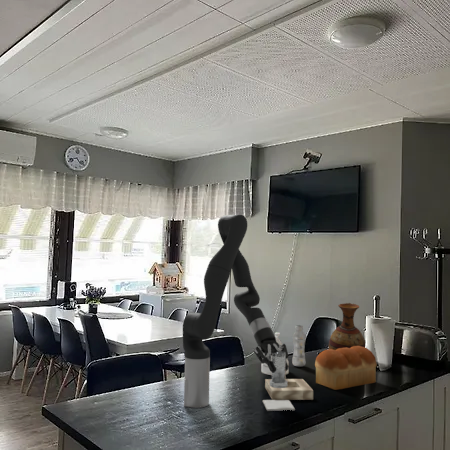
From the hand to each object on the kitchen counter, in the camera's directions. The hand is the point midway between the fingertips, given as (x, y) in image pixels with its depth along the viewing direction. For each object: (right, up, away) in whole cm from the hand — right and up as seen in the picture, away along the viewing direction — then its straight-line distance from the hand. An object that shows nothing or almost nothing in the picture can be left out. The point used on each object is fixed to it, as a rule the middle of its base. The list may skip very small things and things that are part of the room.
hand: (280, 370), depth 169 cm
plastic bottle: (+17, -17, +60) cm, 65 cm away
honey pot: (+3, -16, +49) cm, 52 cm away
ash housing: (+5, -14, +15) cm, 21 cm away
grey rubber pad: (-1, -13, 0) cm, 13 cm away
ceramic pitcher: (+45, -19, +78) cm, 92 cm away
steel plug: (-1, -6, +1) cm, 6 cm away
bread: (+33, -16, +33) cm, 49 cm away
